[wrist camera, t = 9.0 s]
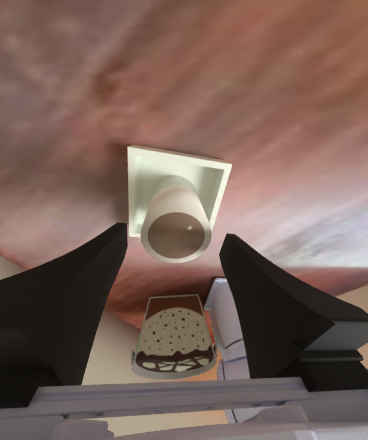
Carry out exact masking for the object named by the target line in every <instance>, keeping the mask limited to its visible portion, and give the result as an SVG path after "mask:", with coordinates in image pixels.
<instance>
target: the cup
mask: <svg viewBox="0 0 368 440" xmlns="http://www.w3.org/2000/svg"><path fill="white" fill-rule="evenodd" d="M210 240H211V227H210V224H209V222H208V219H207V217H206V214H205V212H204V209H203V207H202V204H201V202H200V199H199V197H198V194H197V192H196V189H195V187H194V185H193V184H192V183H191V182H190V181H189V180H188V179H186V178H184V177H181V176H168V177H166V178H164V179H162V180H161V181H160V182H159V183H158V184H157V185H156V187H155V189H154V192H153V195H152V198H151V201H150V204H149V207H148V210H147V213H146V216H145V219H144V222H143V225H142V228H141V241H142V244H143V246H144V248H145V249H146V251H147V252H148V253H149V254H150V255H152V256H153V257H155V258H156V259H158V260H161V261H164V262H168V263H182V262H187V261H190V260H192V259H194V258H196V257H198V256H199V255H201V254H202V253H203V252H204V251H205V250H206V248H207V247H208V245H209V243H210Z"/></svg>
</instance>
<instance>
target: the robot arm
mask: <svg viewBox="0 0 368 440" xmlns="http://www.w3.org/2000/svg"><path fill="white" fill-rule="evenodd" d="M127 247H128V245H127V223H119V222H117V223H116V224H114V225H113V226H111V227H110V228H109V229H107V230H106V231H104V232H103V233H101V234H100V235H98V236H97V237H95V238H94V239H92V240H90V241H89V242H87V243H85V244H84V245H82V246H80V247H78V248H77V249H75V250H73V251H71V252H69V253H67V254H65V255H63V256H61V257H59V258H56V259H54V260H52V261H49V262H47V263H45V264H42V265H40V266H38V267H35V268H33V269H30V270H27V271H25V272H22V273H19V274H16V275H13V276H11V277H8V278H5V279H2V280H0V440H368V369H366V368H365V367H364V366H363V365H362V363H361V362H360V361H362V360H363V357H362V355H360V353H359V352H358V351H357V349H358V348H360V347H362V346H363V345H365V344H366V343H368V314H367V313H366V312H365V311H364V310H362V309H361V308H359V307H357V306H354V305H352V304H350V303H347V302H345V301H343V300H340V299H338V298H336V297H333V296H331V295H329V294H327V293H325V292H323V291H321V290H319V289H316V288H315V287H313V286H311V285H309V284H307V283H305V282H303V281H301V280H299V279H298V278H296V277H294V276H292V275H291V274H289V273H287V272H286V271H284V270H282V269H281V268H279V267H278V266H276V265H275V264H273V263H272V262H270V261H269V260H268V259H266V258H265V257H263V256H262V255H261V254H259V253H258V252H257V251H256V250H254V249H253V248H252V247H250V246H249V245H248V244H247V243H246V242H244V241H243V240H242V239H240V238H239V237H238V236H236V235H235V234H226V237H225V240H224V242H223V245H222V248H221V250H220V253H219V256H220V261H221V265H222V268H223V271H224V274H225V277H226V278H215V280H214V282H213V285H212V288H211V290H210V293H209V295H208V298H207V300H206V303H205V305H204V310H209V314H210V319H211V324H212V329H213V334H214V339H215V343H216V344H217V348H218V350H219V351H220V353H221V354H222V357H223V359H221V360H220V361H219V364H218V367H217V380H210V381H182V382H158V383H157V382H156V383H129V384H103V385H81V384H82V380H83V377H84V373H85V369H86V366H87V362H88V359H89V355H90V351H91V348H92V345H93V341H94V338H95V334H96V331H97V328H98V325H99V322H100V319H101V315H102V312H103V309H104V306H105V303H106V300H107V297H108V294H109V292H110V289H111V287H112V285H113V283H114V280H115V278H116V276H117V274H118V271H119V269H120V267H121V265H122V262H123V260H124V257H125V254H126V250H127ZM210 410H224V412H225V415H226V418H227V420H228V422H229V424H218V425H205V426H195V427H186V428H177V429H169V430H161V431H154V432H146V433H139V434H132V435H126V436H118V437H114V434H113V432H111V431H109V430H107V427H108V423H107V421H98V420H83V419H90V418H105V417H121V416H136V415H150V414H165V413H181V412H195V411H210Z"/></svg>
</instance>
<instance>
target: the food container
mask: <svg viewBox="0 0 368 440" xmlns="http://www.w3.org/2000/svg"><path fill="white" fill-rule="evenodd" d="M216 357H217V344H215V346H214V347H213V345H212V341H211V337H210V334H209V330H208V326H207V323H206V319H205V316H204V312H203V308H202V305H201V301H200V297H199V294H192V295H174V296H156V297H149V301H148V305H147V309H146V313H145V317H144V321H143V324H142V328H141V333H140V337H139V341H138V345H137V348H136V353H134V351H133V350H131V364H132V370H133V371H134V372H135V373H136V374H138V375H140V376H142V377H145V378H149V379H156V380H176V379H184V378H189V377H193V376H197V375H200V374H202V373H204V372H206V371H208V370H210V369H211V368H213V367H214V366H215V364H216V362H217V361H216Z"/></svg>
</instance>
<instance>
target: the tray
mask: <svg viewBox="0 0 368 440" xmlns="http://www.w3.org/2000/svg"><path fill="white" fill-rule="evenodd" d="M231 167H232V164H231V163H229V162H227V161H225V160H221V159H215V158H209V157H203V156H198V155H192V154H186V153H180V152H174V151H168V150H163V149H157V148H151V147H145V146H139V145H131V146H128V195H129V236H130V237H141V228H142V225H143V222H144V219H145V216H146V213H147V210H148V207H149V204H150V201H151V198H152V195H153V192H154V189H155V187H156V185H157V184H158V183H159V182H160V181H161V180H162V179H164V178H166V177H168V176H181V177H184V178H186V179H188V180H189V181H190V182H191V183H192V184H193V185H194V187H195V189H196V192H197V194H198V197H199V199H200V202H201V204H202V207H203V209H204V212H205V214H206V217H207V219H208V222H209V224H210V227H211V232H212V229H213V226H214V223H215V219H216V216H217V213H218V210H219V206H220V203H221V200H222V196H223V193H224V190H225V187H226V183H227V180H228V177H229V174H230V170H231Z"/></svg>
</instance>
